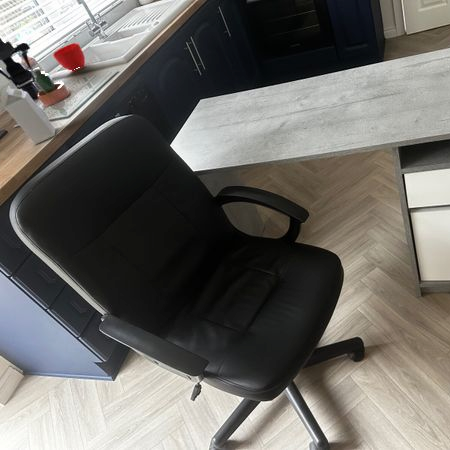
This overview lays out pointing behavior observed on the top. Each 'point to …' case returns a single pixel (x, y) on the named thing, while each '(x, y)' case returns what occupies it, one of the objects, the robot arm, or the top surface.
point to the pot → (54, 95)
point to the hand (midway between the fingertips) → (20, 74)
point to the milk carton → (28, 115)
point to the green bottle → (44, 81)
